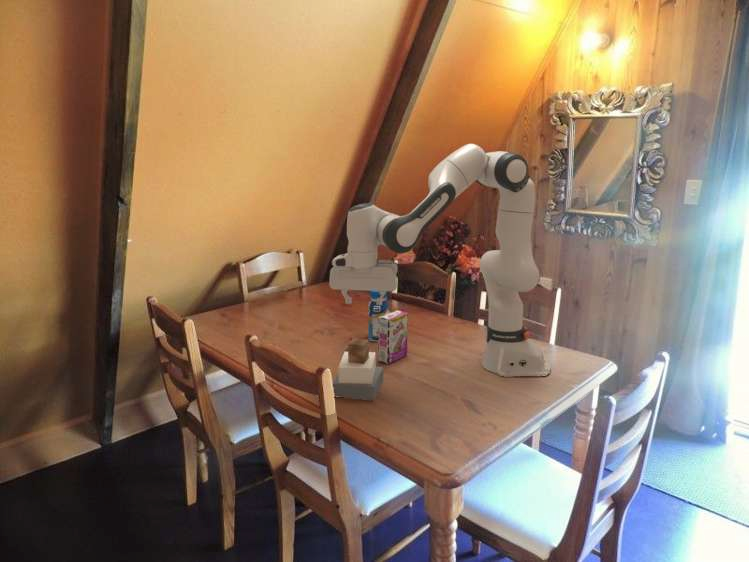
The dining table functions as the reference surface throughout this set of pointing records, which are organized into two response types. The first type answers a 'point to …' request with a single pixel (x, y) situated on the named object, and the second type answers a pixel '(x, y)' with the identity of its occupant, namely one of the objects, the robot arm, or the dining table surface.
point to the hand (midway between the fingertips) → (363, 304)
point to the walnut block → (358, 351)
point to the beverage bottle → (376, 313)
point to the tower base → (359, 387)
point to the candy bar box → (392, 336)
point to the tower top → (357, 370)
